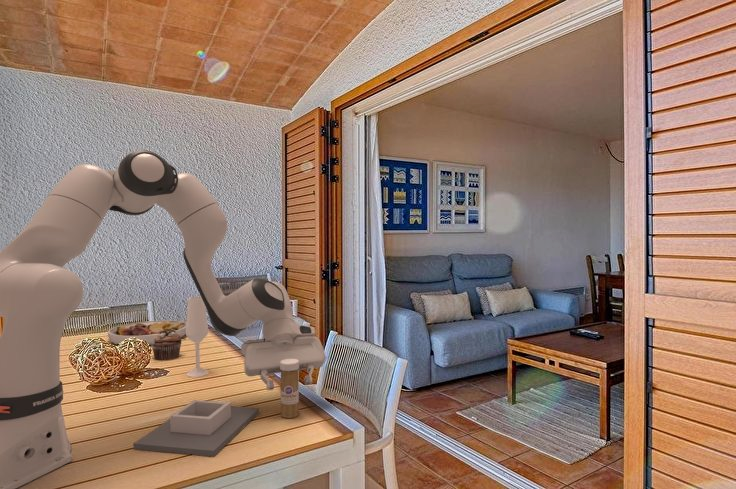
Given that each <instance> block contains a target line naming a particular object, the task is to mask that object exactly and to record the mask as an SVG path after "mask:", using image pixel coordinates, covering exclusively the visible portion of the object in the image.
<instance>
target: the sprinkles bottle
mask: <svg viewBox="0 0 736 489" xmlns="http://www.w3.org/2000/svg"><path fill="white" fill-rule="evenodd" d="M280 369H281V372H280V417H282V418H284V419H293V418H297V417H298V416H299V414H300V411H299V410H300V407H299V405H300V404H299V403H300V402H299V400H300V392H299V391H300V389H299V388H300V387H299V386H300V384H299V371H300V370H299V361H298V360H297V359H284V360H282V361H281V362H280Z"/></svg>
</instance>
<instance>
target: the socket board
mask: <svg viewBox="0 0 736 489" xmlns="http://www.w3.org/2000/svg"><path fill="white" fill-rule="evenodd" d="M258 413H259V414H260V407H248V406H237V405H235V406H233V405H232V402H229V401H228V402H227V401H214V400H213V401H211V400H199V399H193V400H192V401H190V402H189V403H188V404H186V405H184V406H183V407H181V408H180V409H178V410H177V411H175V412H174V413H172V414H171V415H170V418H169V419H167V420H166V421H164V422H163V423H161V424H160V425H159V426H157V427H156V428H154V429H153V430H151V431H150V432H148V433H147V434H145V435H144V436H142V437H140V438H139V439H138V440H136V441H135V442H134V443H133V446H132V447H133V448H132V449H133V450H137V451H148V452H157V451H162V452H161V453H168V452H175V453H174V454H179V453H185V454H184V455H190V454H192V455H191V456H193V455H194V456H201V455H202V456H203V457H212V456H213V458H214V457H215V456H217V454H218V453H219V452H220V451H222V449H223V448H225V447H226V445H228V444H229V443H230V442H231V441H232V440H233V439H234V438H235V437H236V436H237V435H238V434H239V433H240V432H241V431H242V430H243V429H244V428H245V427H246V426H247V425H248V424H249V423H250V422H252V420H253V419H255V418H256V417H257V416H258V415H259V414H258ZM257 414H258V415H257ZM256 415H257V416H256ZM244 426H245V427H244ZM243 427H244V428H243ZM242 428H243V429H242ZM241 429H242V430H241ZM240 430H241V431H240ZM239 431H240V432H239ZM238 432H239V433H238ZM237 433H238V434H237ZM236 434H237V435H236ZM235 435H236V436H235ZM234 436H235V437H234ZM233 437H234V438H233ZM232 438H233V439H232ZM231 439H232V440H231ZM230 440H231V441H230ZM229 441H230V442H229Z"/></svg>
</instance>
